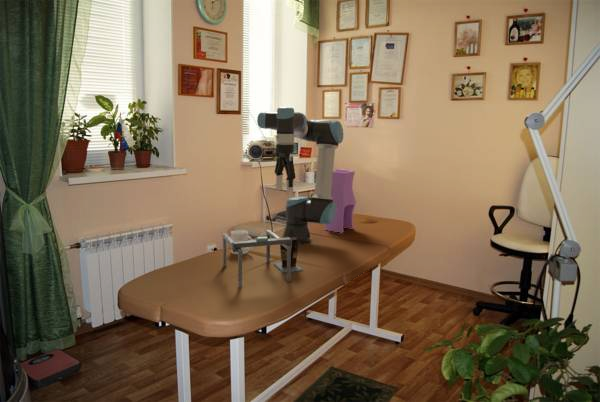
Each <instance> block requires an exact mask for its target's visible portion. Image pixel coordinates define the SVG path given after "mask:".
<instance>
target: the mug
mask: <svg viewBox="0 0 600 402" xmlns="http://www.w3.org/2000/svg"><path fill="white" fill-rule="evenodd" d="M230 238H231V239H232V240H233V241H234V242H237V241H249V240H254V239H253V238H252V237H251V236H250V235H249V231H248V230H245V229H237V230H236V229H235V230H231V232H230ZM253 248H254V247H243V248H241V249H242V250H243V254H242V256H243V255H246V254H248V252H249V251H252V250H253ZM230 252H231V254H233V255H238V253H237V252H233V251H232V250H231V249H230Z"/></svg>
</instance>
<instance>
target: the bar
mask: <svg viewBox="0 0 600 402" xmlns="http://www.w3.org/2000/svg"><path fill="white" fill-rule="evenodd" d="M280 244H290V245H291V247H292V241H291V239H290V238H289V237H288V238H282V237H280V238H275V239H273V238H270V239H268V238H267V236H257V237H256V239H253V240H249V239H248V241H237V242H232V244H231V245H230V251H231V250H232V251H233V252H236V248H243V247H248V248H250V247H253V248H254V247H267V245H270V246H276V245H278V246H280Z"/></svg>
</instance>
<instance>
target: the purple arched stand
mask: <svg viewBox="0 0 600 402" xmlns="http://www.w3.org/2000/svg"><path fill="white" fill-rule="evenodd" d="M355 173H356V171H355V170H350V169H340V168H339V169H338V168H336V169H335V171H333V176H332V187H331V197H332V198H333V202H334V203H335V204H336V214H335V217H334V219H333V221H332V222H331V223H330V224H324V226H323V227H324V228H323V230H324V229H325V230H330V231H336V232H342V233H343V232H345V231H344V228H343V227H345V228H352V229H353V228H354V229H355V227H354V226H355V225H354V220H353V217H354V216H353V215H354V211H355V207H356V198H355V195H354V191H353V183H354V182H353V181H354V177H355ZM325 230H324V231H325ZM330 231H329V232H330ZM343 234H344V233H343Z"/></svg>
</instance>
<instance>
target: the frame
mask: <svg viewBox="0 0 600 402" xmlns="http://www.w3.org/2000/svg"><path fill="white" fill-rule="evenodd" d="M265 233H266V237H267V238H268V239H275V238H281V237H280V236H278V235H277V234H276V233H274V232H273V231H272V230H271V229H266V230H265ZM232 242H234V241H233V240H232V239H231V236H230V235H228V233H226V232H223V233H222V268H226V267H227V243H228V245H229V246H231V244H232ZM281 245H282V246H283V247H285V248H286V249H287V272H286V282H287V283H290V282H291V273H292V272H291V245H290V244H281ZM265 247H266V253H265V254H266V256H265V257H266V259H265V260H266V263H267V264H269V263H271V261H270V259H271V258H270V257H271V255H270V254H271V245H267V246H265ZM236 252H237V253H238V256H237V260H238V264H237V270H238V271H237V273H238V274H237V275H238V276H237V278H238V279H237V280H238V284H237V285H238V288H243V255H244V254H243V250H242V249H241V248H236ZM242 254H243V255H242Z"/></svg>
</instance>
